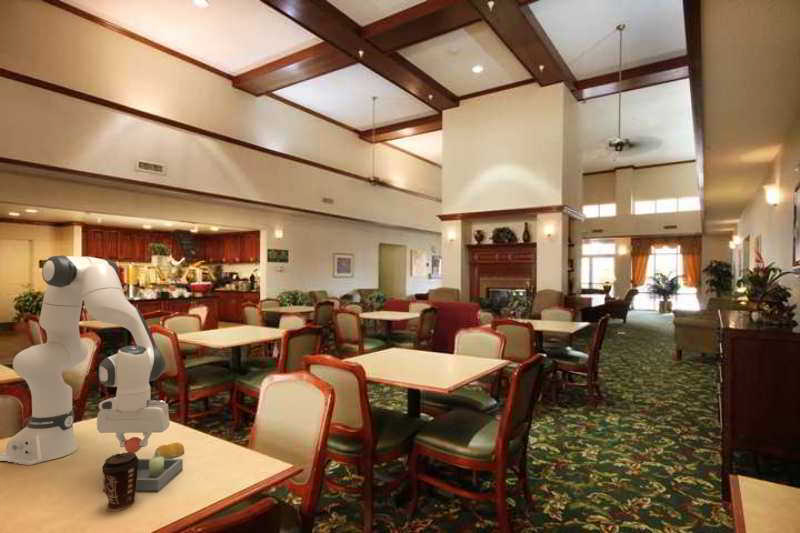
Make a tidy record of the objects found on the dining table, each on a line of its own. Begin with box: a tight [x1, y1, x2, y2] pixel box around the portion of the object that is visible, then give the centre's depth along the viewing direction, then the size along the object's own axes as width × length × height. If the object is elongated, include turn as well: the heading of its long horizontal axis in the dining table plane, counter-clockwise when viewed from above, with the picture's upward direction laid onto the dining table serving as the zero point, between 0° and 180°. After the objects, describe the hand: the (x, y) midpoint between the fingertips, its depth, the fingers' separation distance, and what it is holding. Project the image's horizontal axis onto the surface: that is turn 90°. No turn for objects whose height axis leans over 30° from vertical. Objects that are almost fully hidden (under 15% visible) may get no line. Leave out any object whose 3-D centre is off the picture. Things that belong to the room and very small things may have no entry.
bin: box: [102, 458, 184, 493], centre depth 133 cm, size 16×14×4 cm
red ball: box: [124, 436, 143, 454], centre depth 131 cm, size 4×4×4 cm
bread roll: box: [153, 442, 185, 459], centre depth 152 cm, size 8×9×4 cm
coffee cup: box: [101, 451, 140, 512], centre depth 120 cm, size 9×8×13 cm
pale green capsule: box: [149, 456, 164, 478], centre depth 135 cm, size 4×4×5 cm
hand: (133, 446), depth 132 cm, fingers closed on red ball, 4 cm apart
